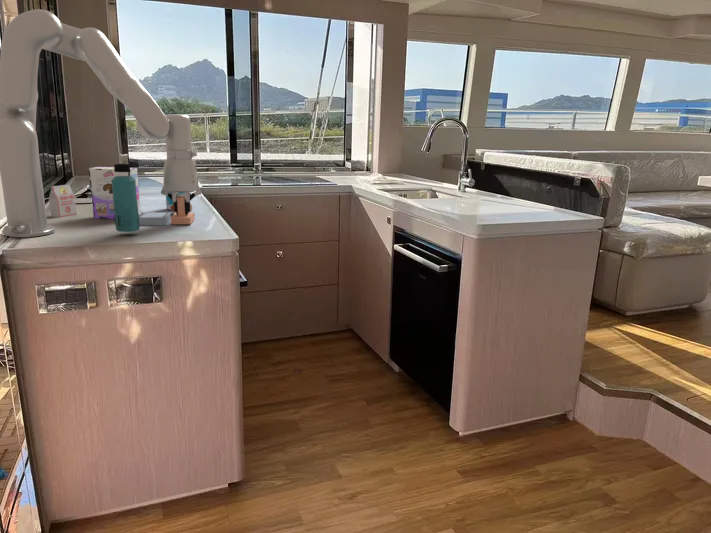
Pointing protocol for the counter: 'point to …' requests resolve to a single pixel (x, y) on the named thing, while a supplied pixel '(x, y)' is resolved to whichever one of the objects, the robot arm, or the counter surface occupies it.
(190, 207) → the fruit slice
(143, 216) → the flat grey block
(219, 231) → the counter surface
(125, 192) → the beverage bottle
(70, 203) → the gable top carton
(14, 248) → the counter surface
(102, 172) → the candy box
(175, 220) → the stub
